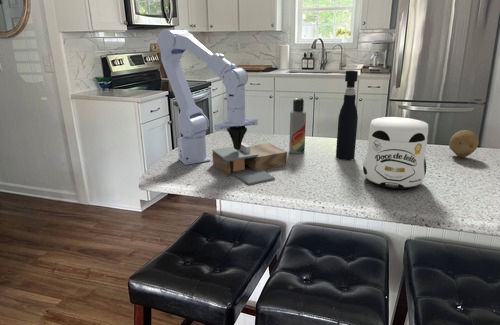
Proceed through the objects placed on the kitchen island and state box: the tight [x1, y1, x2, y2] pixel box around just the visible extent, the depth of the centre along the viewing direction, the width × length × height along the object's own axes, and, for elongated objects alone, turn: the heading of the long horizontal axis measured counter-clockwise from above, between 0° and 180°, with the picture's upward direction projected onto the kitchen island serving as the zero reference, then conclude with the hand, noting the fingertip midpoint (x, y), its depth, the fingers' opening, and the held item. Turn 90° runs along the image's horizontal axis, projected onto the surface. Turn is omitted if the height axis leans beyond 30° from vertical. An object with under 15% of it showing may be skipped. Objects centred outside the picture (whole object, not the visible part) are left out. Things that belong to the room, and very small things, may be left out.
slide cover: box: [211, 141, 258, 162], centre depth 121 cm, size 11×12×3 cm
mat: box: [236, 169, 276, 186], centre depth 114 cm, size 9×8×1 cm
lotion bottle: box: [288, 97, 307, 155], centre depth 135 cm, size 6×6×20 cm
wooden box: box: [211, 142, 288, 177], centre depth 125 cm, size 22×12×4 cm, turn 118°
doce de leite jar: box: [362, 116, 429, 190], centre depth 107 cm, size 17×17×18 cm
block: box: [229, 159, 246, 172], centre depth 122 cm, size 4×4×4 cm
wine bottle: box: [335, 70, 359, 161], centre depth 127 cm, size 6×6×30 cm
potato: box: [448, 129, 480, 159], centre depth 129 cm, size 9×9×10 cm
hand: (237, 148), depth 122 cm, fingers closed
